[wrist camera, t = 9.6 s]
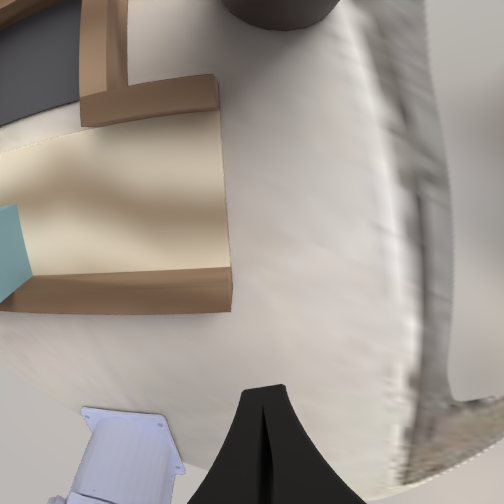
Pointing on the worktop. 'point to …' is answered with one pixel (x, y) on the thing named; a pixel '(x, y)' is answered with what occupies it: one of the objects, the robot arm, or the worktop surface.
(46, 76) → the pit mat
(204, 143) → the wooden zigzag frame
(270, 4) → the bottle
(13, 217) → the block
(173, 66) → the worktop surface
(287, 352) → the worktop surface
